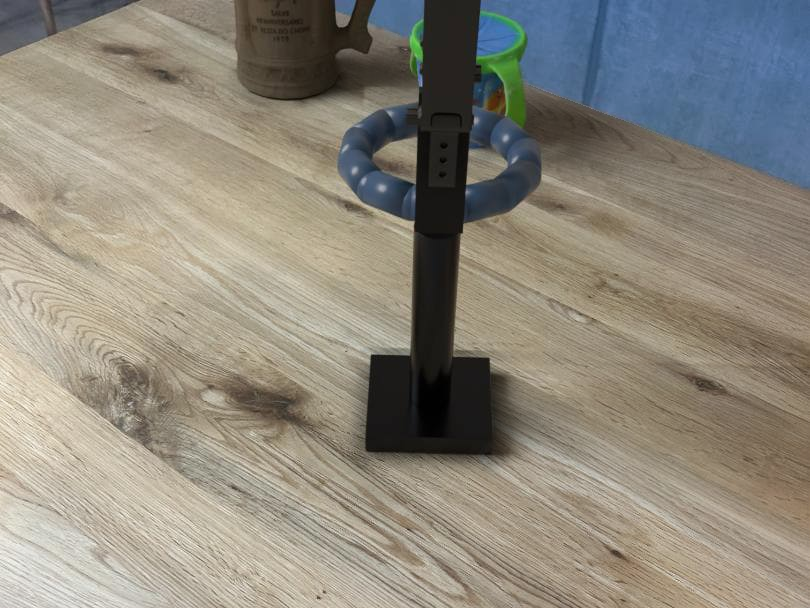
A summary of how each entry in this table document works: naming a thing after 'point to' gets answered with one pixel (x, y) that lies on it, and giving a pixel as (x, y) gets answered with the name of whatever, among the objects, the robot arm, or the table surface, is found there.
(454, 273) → the post
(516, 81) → the snack cup
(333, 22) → the beer stein
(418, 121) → the robot arm
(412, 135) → the ring
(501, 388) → the table surface
